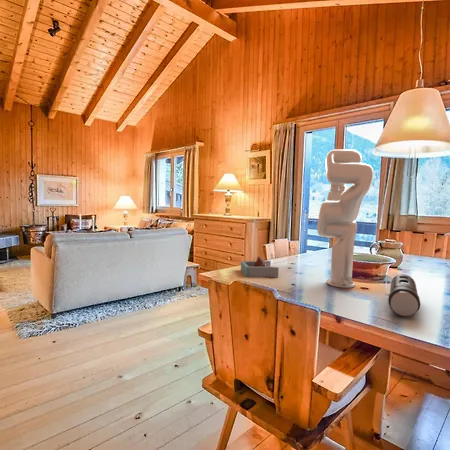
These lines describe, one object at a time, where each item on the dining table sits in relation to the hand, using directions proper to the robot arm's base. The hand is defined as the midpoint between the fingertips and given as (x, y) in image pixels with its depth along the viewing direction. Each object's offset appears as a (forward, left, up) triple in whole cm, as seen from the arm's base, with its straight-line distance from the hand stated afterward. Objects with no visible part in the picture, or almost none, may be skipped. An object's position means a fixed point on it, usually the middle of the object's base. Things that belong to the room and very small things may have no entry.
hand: (335, 223), depth 172 cm
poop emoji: (-4, +43, -27) cm, 51 cm away
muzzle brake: (-57, 0, -28) cm, 63 cm away
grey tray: (-3, +43, -27) cm, 51 cm away
